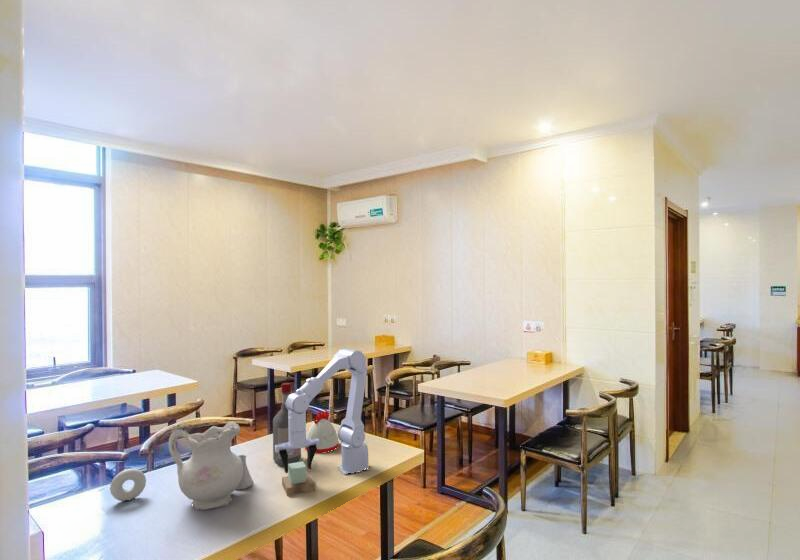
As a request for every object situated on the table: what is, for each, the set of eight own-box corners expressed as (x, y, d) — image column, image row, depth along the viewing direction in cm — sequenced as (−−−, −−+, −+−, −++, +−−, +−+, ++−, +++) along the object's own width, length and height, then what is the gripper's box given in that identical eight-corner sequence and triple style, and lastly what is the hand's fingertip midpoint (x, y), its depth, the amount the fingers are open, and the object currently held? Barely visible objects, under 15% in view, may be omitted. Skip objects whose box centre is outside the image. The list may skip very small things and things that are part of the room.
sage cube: (303, 475, 158) (302, 461, 158) (306, 481, 153) (306, 466, 153) (288, 478, 156) (288, 463, 156) (291, 484, 151) (291, 469, 151)
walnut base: (308, 480, 160) (308, 472, 160) (314, 491, 152) (314, 482, 152) (282, 486, 157) (282, 477, 157) (287, 497, 149) (286, 488, 149)
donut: (110, 507, 143) (109, 475, 143) (109, 502, 146) (109, 471, 145) (146, 498, 148) (146, 467, 148) (145, 493, 151) (145, 463, 151)
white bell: (345, 446, 192) (344, 410, 192) (319, 456, 182) (318, 418, 182) (324, 438, 201) (323, 404, 201) (298, 447, 191) (297, 411, 191)
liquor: (303, 462, 176) (302, 384, 175) (279, 468, 170) (278, 387, 170) (294, 454, 183) (293, 379, 183) (271, 460, 178) (270, 383, 178)
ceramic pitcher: (169, 527, 133) (169, 443, 131) (168, 494, 150) (168, 419, 148) (247, 509, 143) (248, 431, 141) (238, 480, 160) (238, 410, 158)
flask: (245, 491, 152) (245, 461, 152) (226, 489, 154) (225, 459, 154) (257, 481, 159) (256, 453, 159) (238, 480, 161) (237, 451, 161)
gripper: (315, 423, 161) (316, 461, 161) (273, 429, 155) (273, 469, 155) (320, 429, 155) (321, 469, 155) (276, 435, 149) (277, 477, 149)
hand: (297, 469), depth 154 cm, fingers open, 7 cm apart
